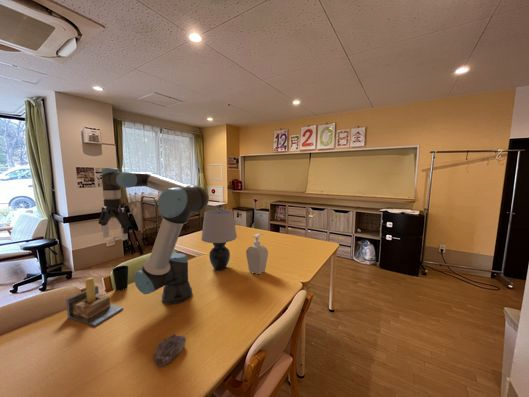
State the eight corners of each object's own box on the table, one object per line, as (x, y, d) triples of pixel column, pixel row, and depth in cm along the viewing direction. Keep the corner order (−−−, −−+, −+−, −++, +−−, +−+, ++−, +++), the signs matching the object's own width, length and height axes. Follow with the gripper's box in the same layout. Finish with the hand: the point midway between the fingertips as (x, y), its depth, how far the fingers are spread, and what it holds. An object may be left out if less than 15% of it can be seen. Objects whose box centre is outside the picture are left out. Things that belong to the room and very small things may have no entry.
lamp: (194, 270, 151) (192, 212, 146) (219, 259, 171) (218, 208, 167) (220, 279, 138) (219, 216, 134) (243, 265, 158) (243, 211, 154)
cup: (122, 292, 123) (120, 271, 121) (110, 290, 124) (108, 270, 123) (132, 285, 130) (131, 266, 129) (121, 284, 132) (120, 265, 130)
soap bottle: (269, 271, 150) (269, 234, 147) (260, 276, 142) (260, 237, 139) (255, 266, 157) (255, 231, 154) (246, 271, 149) (245, 234, 146)
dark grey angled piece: (123, 309, 107) (121, 291, 106) (94, 326, 95) (93, 307, 94) (97, 302, 113) (96, 285, 112) (67, 317, 101) (65, 299, 100)
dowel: (98, 305, 105) (95, 277, 104) (90, 309, 102) (88, 280, 101) (93, 304, 106) (91, 276, 105) (86, 308, 103) (83, 279, 102)
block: (110, 306, 108) (109, 296, 107) (88, 318, 98) (87, 308, 98) (96, 302, 111) (95, 292, 110) (73, 314, 102) (72, 303, 101)
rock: (147, 364, 76) (147, 352, 76) (170, 340, 87) (169, 330, 87) (167, 370, 74) (166, 357, 74) (187, 345, 85) (187, 334, 85)
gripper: (137, 198, 113) (139, 238, 115) (102, 196, 121) (105, 234, 124) (123, 200, 106) (126, 242, 108) (88, 198, 114) (91, 238, 117)
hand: (115, 238), depth 116 cm, fingers open, 13 cm apart
